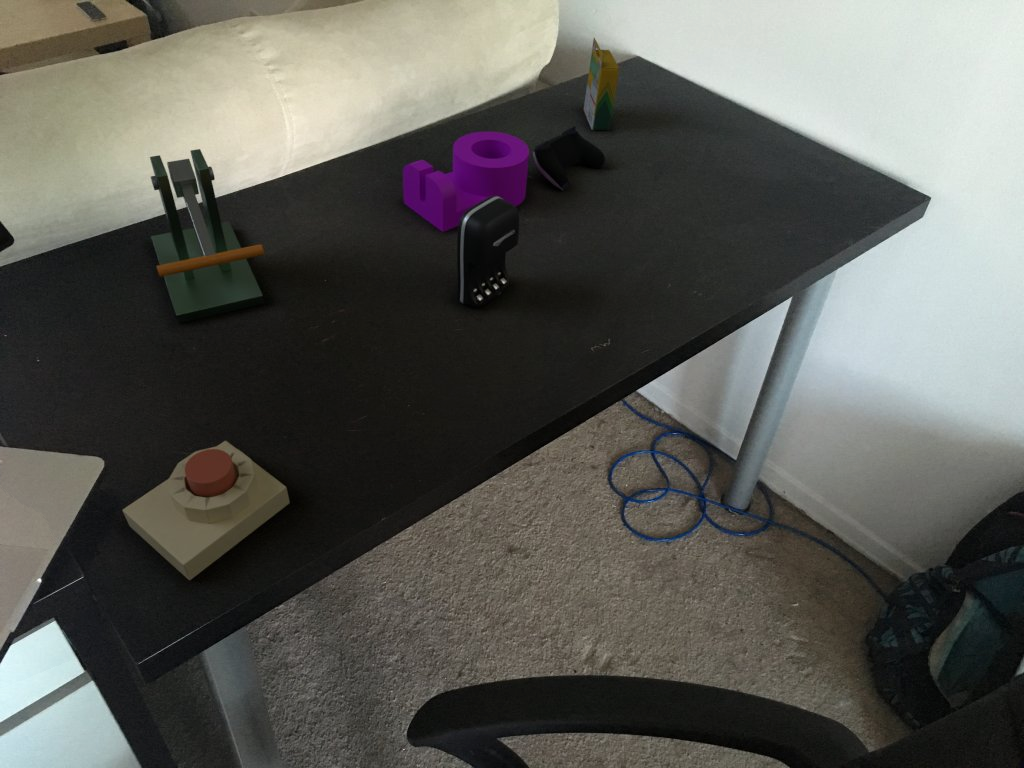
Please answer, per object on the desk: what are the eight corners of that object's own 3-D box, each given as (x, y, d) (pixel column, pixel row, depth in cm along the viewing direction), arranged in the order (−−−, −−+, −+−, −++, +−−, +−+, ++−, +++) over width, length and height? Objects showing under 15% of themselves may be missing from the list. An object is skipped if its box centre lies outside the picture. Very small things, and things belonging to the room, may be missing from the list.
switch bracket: (264, 304, 86) (242, 192, 77) (178, 324, 83) (145, 209, 73) (230, 229, 96) (207, 122, 87) (153, 244, 93) (120, 135, 83)
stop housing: (189, 581, 61) (177, 551, 58) (129, 526, 64) (115, 495, 62) (290, 503, 67) (283, 472, 64) (230, 456, 70) (221, 425, 68)
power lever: (265, 261, 80) (263, 246, 78) (161, 283, 76) (157, 268, 74) (229, 168, 85) (227, 152, 83) (130, 185, 81) (125, 168, 79)
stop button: (208, 504, 62) (203, 490, 61) (180, 481, 64) (175, 467, 62) (245, 477, 64) (241, 464, 63) (217, 456, 66) (213, 442, 64)
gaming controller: (589, 174, 116) (566, 131, 115) (610, 161, 113) (586, 117, 112) (546, 200, 110) (520, 155, 109) (567, 188, 106) (540, 141, 105)
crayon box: (610, 131, 122) (622, 55, 114) (591, 131, 122) (602, 55, 114) (601, 110, 127) (611, 37, 119) (583, 110, 127) (592, 36, 119)
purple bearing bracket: (493, 166, 112) (495, 125, 107) (540, 196, 106) (544, 154, 102) (400, 200, 103) (398, 156, 99) (446, 234, 98) (446, 190, 94)
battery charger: (480, 316, 87) (484, 227, 79) (454, 302, 89) (455, 213, 81) (519, 288, 91) (526, 201, 83) (493, 275, 93) (498, 188, 85)
